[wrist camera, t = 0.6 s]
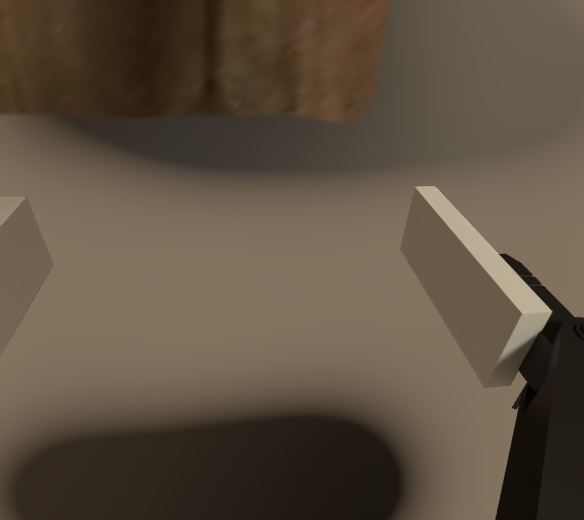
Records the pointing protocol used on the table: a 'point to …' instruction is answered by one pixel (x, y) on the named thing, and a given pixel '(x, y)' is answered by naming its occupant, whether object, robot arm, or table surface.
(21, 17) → the table surface
